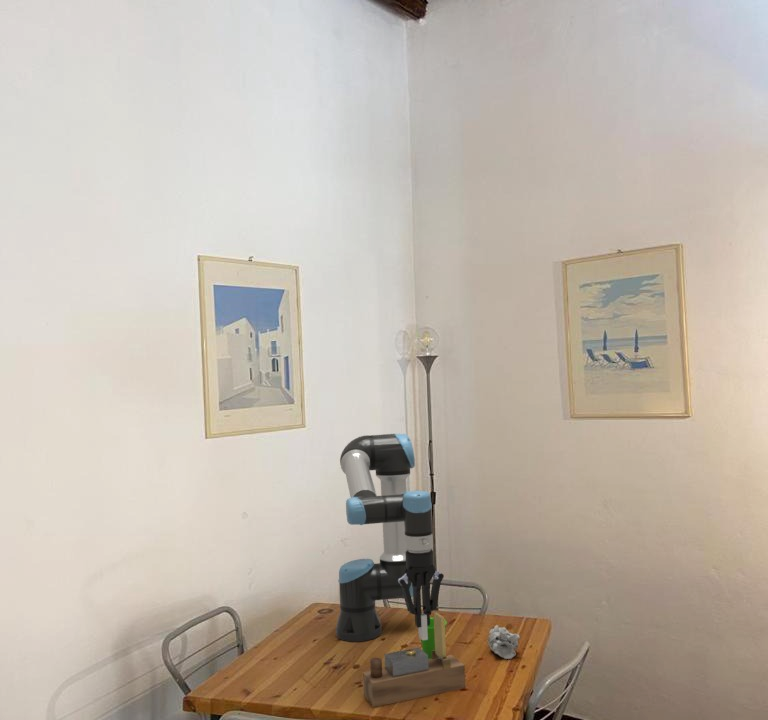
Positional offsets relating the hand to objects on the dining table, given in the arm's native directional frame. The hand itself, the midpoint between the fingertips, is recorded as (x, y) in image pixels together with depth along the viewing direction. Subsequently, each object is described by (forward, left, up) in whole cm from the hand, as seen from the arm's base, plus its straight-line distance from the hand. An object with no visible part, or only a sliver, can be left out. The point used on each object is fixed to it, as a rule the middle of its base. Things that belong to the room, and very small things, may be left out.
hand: (423, 638), depth 191 cm
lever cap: (0, -5, -7) cm, 9 cm away
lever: (0, +5, -6) cm, 8 cm away
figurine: (-12, +31, -14) cm, 36 cm away
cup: (-17, +10, -14) cm, 24 cm away
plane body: (0, -3, -13) cm, 14 cm away
